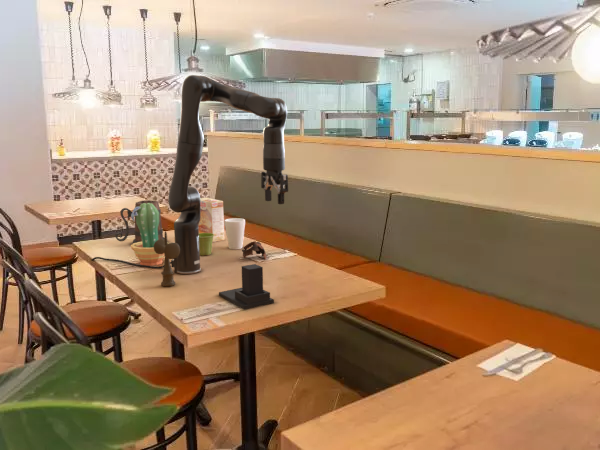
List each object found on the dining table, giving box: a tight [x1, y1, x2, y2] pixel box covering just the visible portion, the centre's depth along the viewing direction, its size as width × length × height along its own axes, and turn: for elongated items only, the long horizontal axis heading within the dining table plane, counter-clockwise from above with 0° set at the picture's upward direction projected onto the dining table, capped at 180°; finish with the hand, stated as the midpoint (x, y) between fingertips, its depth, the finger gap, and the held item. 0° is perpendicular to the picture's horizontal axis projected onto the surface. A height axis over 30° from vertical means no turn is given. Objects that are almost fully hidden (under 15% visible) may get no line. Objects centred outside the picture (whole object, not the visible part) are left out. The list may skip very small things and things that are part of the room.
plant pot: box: [199, 233, 214, 256], centre depth 252 cm, size 9×9×9 cm
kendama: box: [154, 231, 180, 288], centre depth 205 cm, size 6×10×20 cm, turn 43°
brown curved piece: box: [241, 240, 267, 260], centre depth 247 cm, size 12×10×8 cm
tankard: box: [114, 199, 165, 246], centre depth 270 cm, size 24×17×20 cm
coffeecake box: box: [199, 197, 226, 243], centre depth 282 cm, size 15×7×20 cm, turn 43°
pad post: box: [241, 263, 264, 296], centre depth 187 cm, size 5×5×11 cm
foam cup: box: [224, 217, 246, 250], centre depth 264 cm, size 10×9×13 cm
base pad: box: [218, 287, 275, 310], centre depth 192 cm, size 18×11×4 cm, turn 37°
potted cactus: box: [130, 203, 170, 266], centre depth 235 cm, size 15×15×25 cm
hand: (274, 202), depth 203 cm, fingers open, 8 cm apart
